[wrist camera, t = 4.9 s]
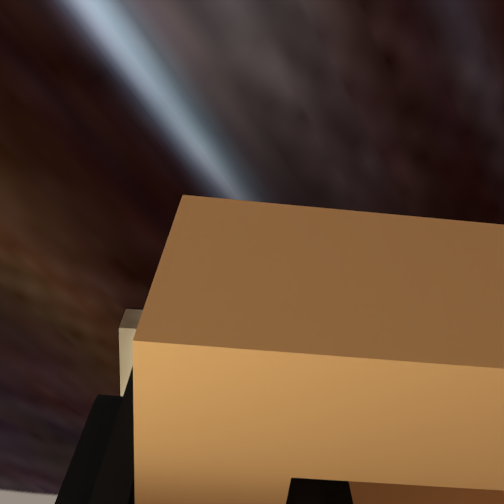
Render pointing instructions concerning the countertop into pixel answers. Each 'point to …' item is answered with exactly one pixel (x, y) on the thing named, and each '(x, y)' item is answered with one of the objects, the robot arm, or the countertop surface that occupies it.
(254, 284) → the orange rectangular frame
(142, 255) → the countertop surface
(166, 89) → the countertop surface
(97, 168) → the countertop surface
